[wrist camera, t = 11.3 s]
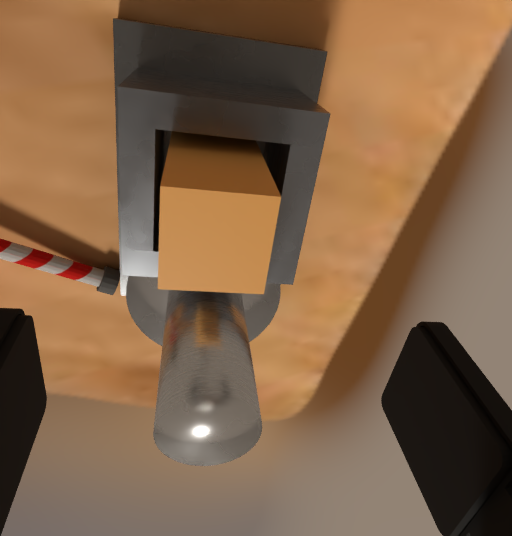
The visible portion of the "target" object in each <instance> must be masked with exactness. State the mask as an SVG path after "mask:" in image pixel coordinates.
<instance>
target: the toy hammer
mask: <svg viewBox="0 0 512 536" xmlns="http://www.w3.org/2000/svg"><path fill="white" fill-rule="evenodd" d="M0 259H3V260H7V261H10V262H14V263H17V264H21V265H24V266H28V267H31V268H35V269H38V270H42V271H45V272H49V273H52V274H56V275H59V276H63V277H66V278H70V279H73V280H77V281H80V282H84V283H87V284H91V285H94V286H97V291H100V292H103V293H107V294H110V295H113V294H114V292H115V291H116V288H117V286H118V283H119V279H120V271H119V270H116V269H112V268H109V267H106V266H105V267H104V269H103V270H102V269H98V268H95V267H92V266H88V265H85V264H82V263H79V262H75V261H72V260H69V259H66V258H62V257H59V256H56V255H52V254H49V253H46V252H43V251H39V250H36V249H33V248H29V247H26V246H23V245H20V244H16V243H13V242H10V241H7V240H3V239H0Z"/></svg>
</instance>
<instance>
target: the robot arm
mask: <svg viewBox="0 0 512 536" xmlns="http://www.w3.org/2000/svg"><path fill="white" fill-rule="evenodd" d="M46 400H47V397H46V390H45V385H44V379H43V373H42V367H41V362H40V356H39V350H38V345H37V339H36V333H35V328H34V322H33V318H32V316H29V315H25V314H24V311H23V310H22V309H12V308H0V536H1V533H2V531H3V528H4V525H5V522H6V519H7V517H8V514H9V511H10V508H11V505H12V502H13V499H14V497H15V494H16V491H17V488H18V486H19V483H20V480H21V477H22V474H23V471H24V469H25V466H26V463H27V460H28V457H29V454H30V452H31V448H32V446H33V443H34V440H35V438H36V434H37V432H38V429H39V426H40V423H41V420H42V417H43V415H44V412H45V408H46ZM381 401H382V407H383V410H384V412H385V414H386V417H387V419H388V421H389V423H390V425H391V427H392V430H393V432H394V434H395V436H396V438H397V440H398V443H399V445H400V447H401V449H402V451H403V454H404V456H405V458H406V460H407V462H408V464H409V467H410V469H411V471H412V473H413V475H414V477H415V480H416V482H417V484H418V486H419V488H420V490H421V493H422V495H423V497H424V499H425V501H426V503H427V506H428V508H429V510H430V512H431V514H432V516H433V519H434V521H435V523H436V525H437V528H438V529H439V531H440V533H441V534H442V535H443V536H512V410H511V409H510V408H509V407H508V405H507V404H506V403H505V401H504V400H503V399H502V397H501V396H500V395H499V393H498V392H497V391H496V390H495V388H494V387H493V386H492V384H491V383H490V382H489V380H488V379H487V378H486V376H485V375H484V374H483V373H482V371H481V370H480V369H479V367H478V366H477V365H476V363H475V362H474V361H473V360H472V358H471V357H470V356H469V354H468V353H467V352H466V350H465V349H464V348H463V346H462V345H461V344H460V343H459V341H458V340H457V339H456V337H455V336H454V335H453V333H452V332H451V331H450V330H449V328H448V327H447V326H446V325H445V324H444V323H442V322H420V323H419V324H417V326H416V327H413V328H412V329H411V331H410V333H409V335H408V337H407V340H406V342H405V344H404V347H403V349H402V351H401V353H400V356H399V358H398V360H397V362H396V365H395V367H394V369H393V371H392V374H391V376H390V378H389V381H388V383H387V386H386V388H385V390H384V392H383V394H382V400H381Z"/></svg>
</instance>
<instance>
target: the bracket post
mask: <svg viewBox="0 0 512 536" xmlns="http://www.w3.org/2000/svg"><path fill="white" fill-rule="evenodd" d="M113 33H114V70H115V106H116V143H117V179H118V216H119V252H120V289H121V295H124V296H126V299H127V305H128V309H129V312H130V314H131V316H132V318H133V320H134V322H135V323H136V325H137V326H138V327H139V328H140V330H141V331H142V332H143V333H144V334H145V335H146V336H148V337H149V338H150V339H151V340H153V341H154V342H156V343H157V344H159V345H161V346H162V356H161V365H160V375H159V384H158V394H157V403H156V413H155V422H154V432H153V435H154V440H155V443H156V445H157V447H158V448H159V450H160V451H161V452H162V453H163V454H165V455H166V456H167V457H169V458H171V459H173V460H175V461H177V462H180V463H183V464H188V465H195V466H211V465H218V464H222V463H226V462H229V461H232V460H234V459H236V458H239V457H241V456H242V455H244V454H245V453H247V452H248V451H249V450H250V449H251V448H253V447H254V445H255V444H256V443H257V441H258V440H259V438H260V435H261V432H262V421H261V415H260V408H259V402H258V396H257V389H256V383H255V376H254V370H253V364H252V357H251V351H250V345H249V342H250V341H252V340H253V339H254V338H256V337H257V336H258V335H259V334H260V333H261V332H262V331H263V330H264V329H265V328H266V327H267V326H268V325H269V323H270V322H271V320H272V319H273V317H274V315H275V313H276V311H277V308H278V304H279V301H280V284H292V285H293V282H294V277H295V273H296V268H297V263H298V259H299V254H300V250H301V245H302V241H303V236H304V232H305V227H306V222H307V218H308V213H309V209H310V204H311V200H312V195H313V190H314V186H315V181H316V177H317V172H318V168H319V163H320V158H321V154H322V149H323V145H324V140H325V136H326V131H327V127H328V122H329V117H330V113H329V112H327V111H326V110H325V109H324V108H322V107H321V106H320V105H318V104H317V101H318V96H319V91H320V86H321V81H322V76H323V71H324V66H325V61H326V56H327V51H324V50H320V49H313V48H307V47H300V46H294V45H287V44H281V43H274V42H268V41H261V40H255V39H249V38H242V37H236V36H229V35H223V34H216V33H210V32H203V31H197V30H191V29H184V28H178V27H171V26H165V25H158V24H152V23H145V22H139V21H132V20H126V19H120V18H114V19H113ZM172 131H176V132H185V133H194V134H202V135H211V136H220V137H229V138H238V139H247V140H256V142H257V144H258V147H259V149H260V151H261V153H262V155H263V158H264V160H265V162H266V164H267V167H268V169H269V171H270V173H271V175H272V178H273V180H274V182H275V184H276V186H277V189H278V191H279V193H280V195H281V201H280V207H279V213H278V218H277V224H276V229H275V235H274V240H273V246H272V252H271V257H270V263H269V268H268V274H267V280H266V285H265V291H264V294H246V293H225V292H204V291H183V290H162V289H158V256H159V216H160V185H161V180H162V176H163V171H164V166H165V162H166V157H167V152H168V148H169V143H170V138H171V134H172Z"/></svg>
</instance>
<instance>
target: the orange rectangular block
mask: <svg viewBox="0 0 512 536" xmlns="http://www.w3.org/2000/svg"><path fill="white" fill-rule="evenodd" d="M280 201H281V195H280V193H279V191H278V189H277V186H276V184H275V182H274V180H273V178H272V175H271V173H270V171H269V169H268V167H267V164H266V162H265V160H264V158H263V155H262V153H261V151H260V149H259V147H258V144H257V142H256V140H247V139H238V138H229V137H220V136H211V135H202V134H194V133H185V132H176V131H172V134H171V138H170V143H169V148H168V152H167V157H166V162H165V166H164V171H163V176H162V180H161V185H160V216H159V256H158V289H162V290H183V291H204V292H225V293H246V294H264V291H265V285H266V280H267V274H268V268H269V263H270V257H271V252H272V246H273V240H274V235H275V229H276V224H277V218H278V213H279V207H280Z"/></svg>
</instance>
